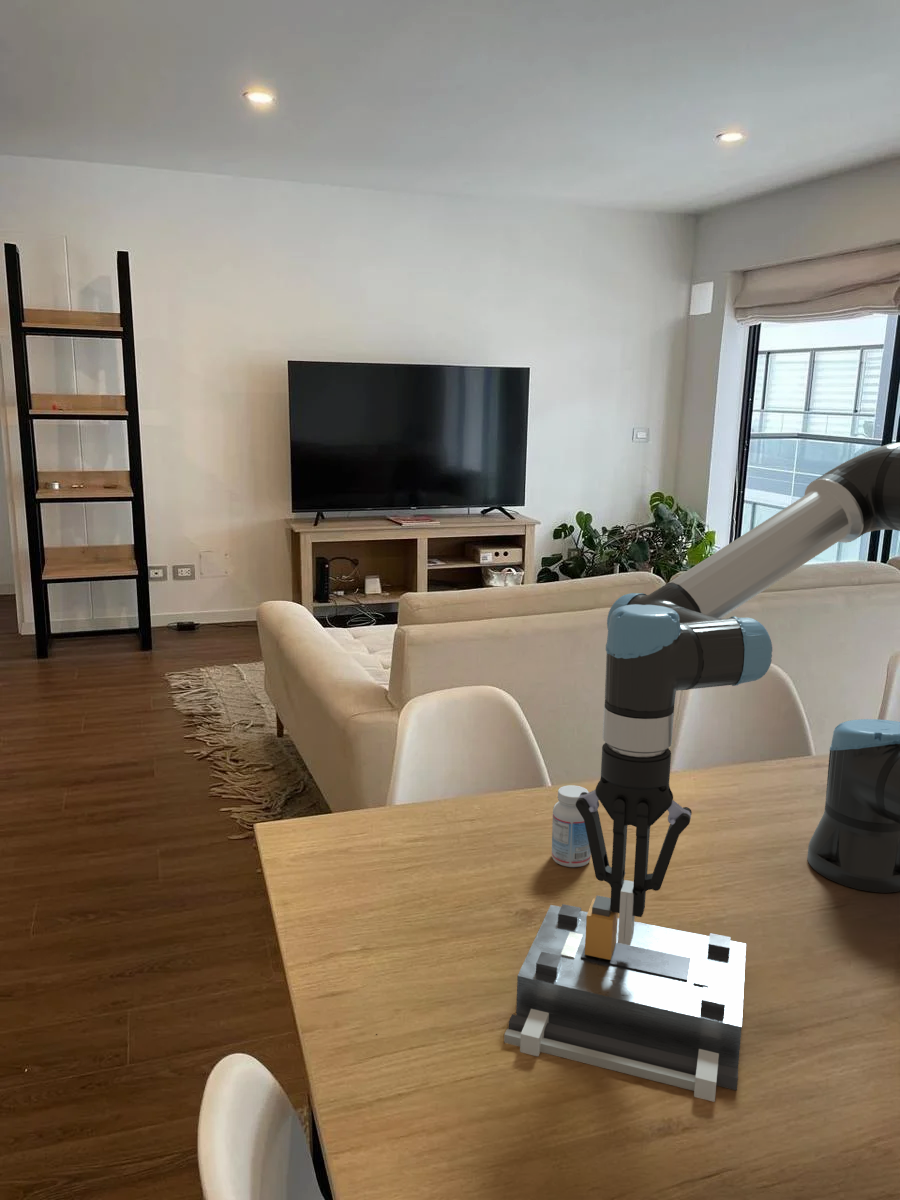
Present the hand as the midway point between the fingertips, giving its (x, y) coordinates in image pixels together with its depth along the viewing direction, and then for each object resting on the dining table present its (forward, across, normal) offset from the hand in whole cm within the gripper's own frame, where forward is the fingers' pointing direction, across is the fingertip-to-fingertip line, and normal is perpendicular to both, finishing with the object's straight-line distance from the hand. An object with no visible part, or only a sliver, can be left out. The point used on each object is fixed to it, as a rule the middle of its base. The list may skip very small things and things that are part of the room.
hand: (625, 937), depth 102 cm
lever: (+2, +3, 0) cm, 4 cm away
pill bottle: (+8, +13, -31) cm, 34 cm away
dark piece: (+8, -1, 0) cm, 8 cm away
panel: (+8, -1, 0) cm, 8 cm away
